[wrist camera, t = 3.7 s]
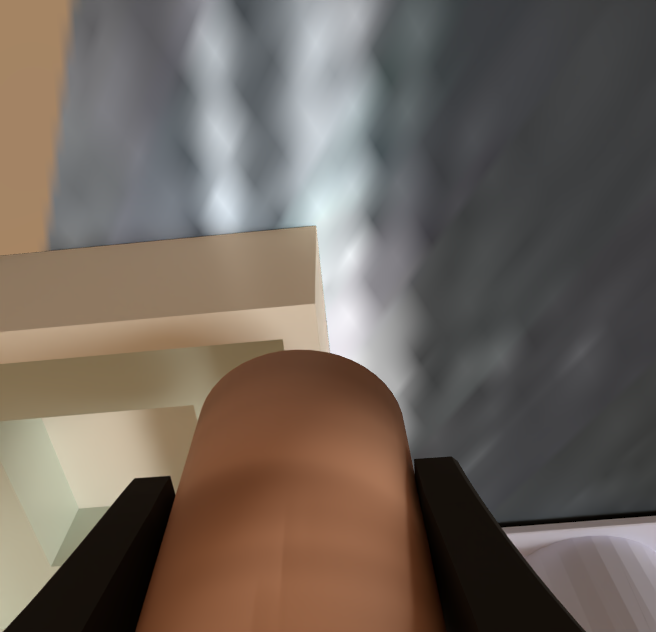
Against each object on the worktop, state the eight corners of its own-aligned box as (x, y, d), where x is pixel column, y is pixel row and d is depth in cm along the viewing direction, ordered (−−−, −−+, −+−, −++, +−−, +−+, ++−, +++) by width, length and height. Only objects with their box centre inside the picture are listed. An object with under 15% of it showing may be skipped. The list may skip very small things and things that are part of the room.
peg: (400, 509, 12) (464, 898, 7) (210, 513, 12) (126, 907, 7) (408, 346, 10) (505, 709, 5) (184, 352, 10) (37, 721, 5)
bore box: (351, 548, 23) (358, 675, 19) (19, 573, 23) (-50, 703, 19) (316, 225, 17) (314, 303, 12) (-139, 268, 17) (-298, 358, 13)
